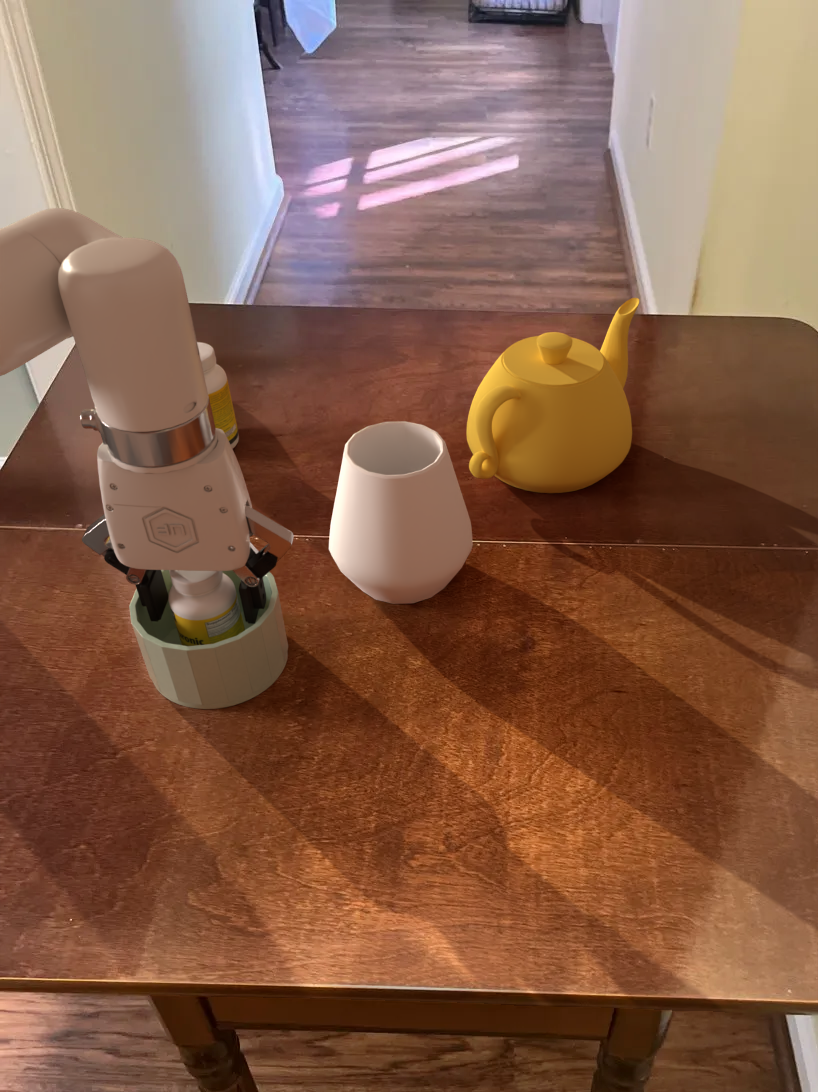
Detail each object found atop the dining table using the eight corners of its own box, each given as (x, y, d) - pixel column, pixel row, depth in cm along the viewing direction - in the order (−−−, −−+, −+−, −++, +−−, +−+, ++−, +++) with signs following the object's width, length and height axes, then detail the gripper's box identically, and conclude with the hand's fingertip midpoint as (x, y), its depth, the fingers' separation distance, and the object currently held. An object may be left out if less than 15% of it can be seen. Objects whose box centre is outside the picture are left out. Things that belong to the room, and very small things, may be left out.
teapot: (568, 379, 119) (577, 269, 109) (687, 437, 110) (708, 323, 101) (416, 462, 106) (410, 346, 97) (536, 535, 98) (543, 415, 88)
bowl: (133, 708, 81) (111, 648, 76) (169, 610, 90) (151, 550, 85) (275, 711, 81) (262, 652, 76) (298, 612, 89) (288, 553, 85)
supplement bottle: (174, 649, 85) (147, 563, 78) (229, 622, 88) (208, 536, 81) (204, 684, 82) (180, 598, 75) (261, 655, 85) (242, 569, 78)
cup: (316, 611, 90) (297, 486, 80) (350, 522, 99) (337, 400, 89) (461, 626, 88) (460, 501, 78) (482, 534, 98) (483, 412, 88)
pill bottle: (250, 436, 110) (233, 345, 102) (218, 465, 106) (197, 372, 98) (205, 423, 112) (185, 333, 104) (171, 451, 108) (147, 359, 100)
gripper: (17, 454, 66) (89, 640, 79) (273, 459, 66) (304, 645, 79) (54, 396, 72) (116, 579, 84) (291, 400, 71) (318, 583, 84)
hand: (207, 610), depth 81 cm, fingers open, 7 cm apart
